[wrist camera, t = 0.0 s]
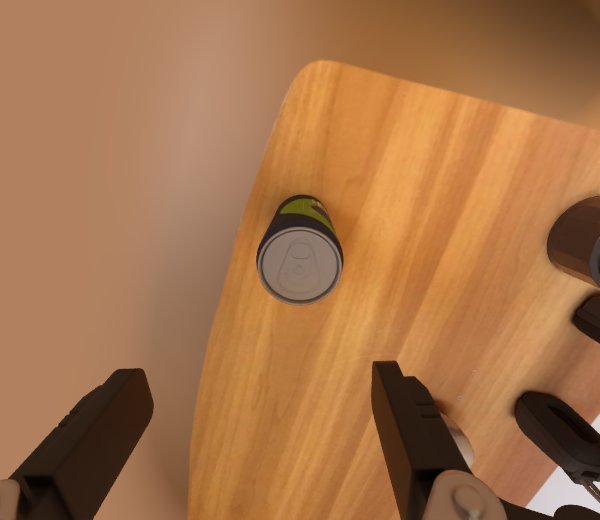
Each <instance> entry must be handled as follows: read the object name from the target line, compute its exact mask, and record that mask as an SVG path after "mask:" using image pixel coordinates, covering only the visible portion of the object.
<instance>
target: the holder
mask: <svg viewBox="0 0 600 520" xmlns="http://www.w3.org/2000/svg"><path fill="white" fill-rule="evenodd" d="M547 251H548V256H549V258H550V260H551V262H552V263H553V265H554V266H555V267H557V268H558V269H560V270H561V271H563V272H565V273H567V274H569V275H571V276H574V277H576V278H578V279H580V280H583V281H585V282H587V283H589V284H592V285H594V286H596V287H598V288H600V196H597V197H592V198H589V199H586V200H583V201H581V202H579V203H577V204H575V205H574V206H572V207H571V208H569V209H568V210H567V211H566V212H565V213H564V214H563V215H562V216H561V217H560V218H559V219H558V220H557V222H556V223H555V224H554V226H553V228H552V230H551V232H550V235H549V238H548V243H547Z"/></svg>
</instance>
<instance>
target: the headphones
mask: <svg viewBox="0 0 600 520" xmlns="http://www.w3.org/2000/svg"><path fill="white" fill-rule="evenodd" d="M576 314H577V316H576V317H575V318H574V325H575V326H576V327H577V329H579V330H580V331H581V332H583V333H584V334H586V335H587V336H589V337H591V338H592V339H594V340H595V341H597V342H598V343H600V296H597V297H593V298H591V299H590V300H589V301H587V302H586V304H585V305H584V306H583V308H579V309H578V311H577V313H576ZM515 418H516V421H517V424H518V426H519V428H520V429H521V430H522V432H523V433H524V434H525V435H526V436H527V437H528V438H529V439H530V440H531V441H532V442H533V443H534V444H535V445H536V446H538V447H539V448H540V449H541V450H542V451H543V452H544V453H545V454H546V455H547V456H548V457H549V458H551V459H552V460H553V461H554V462H555V463H556V464H558V465H559V466H560V467H561V468H562V469H563V470H564V472H565V473H566V474H567V475H568V476H569V477H570V479H571V480H572V481H573V482H574V483H575V484H580V485H583V486H584V487H585V488H586V489H587V491H589V493H590V494H591V495H592V496H593V497H594V498H595V499H596V500H597V501H598V502H599V503H600V497H599V496H600V491H599V489H598V488H597V487H596V486H595V485H594V484H593V481H597V482H600V434H599V433H598V432H597V431H596V430H595V429H594V428H593V427H592V426H591V425H589V424H588V423H587V422H586V421H585V420H584V419H583V418H582V417H581V416H580V415H579V414H578V413H577V412H575V411H574V410H573V409H572V408H571V407H570V406H569V405H568V404H566V403H565V402H563V401H562V400H560V399H558V398H555V397H550V396H546V395H542V394H536V393H527V394H525V395H524V396H523V398H522V399H520V400H519V401H518V407H517V409H516V413H515ZM589 486H591V488H593V490H594V491H595V492H596V493H597V494H598V495H599V496H598V495H597V494H596V493H595V492H594V491H593V490H592V489H591V488H590V487H589Z"/></svg>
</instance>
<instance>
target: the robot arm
mask: <svg viewBox="0 0 600 520" xmlns="http://www.w3.org/2000/svg"><path fill="white" fill-rule="evenodd" d="M371 402H372V410H373V415H374V419H375V423H376V427H377V431H378V434H379V438H380V442H381V446H382V449H383V453H384V457H385V461H386V465H387V468H388V472H389V476H390V480H391V483H392V487H393V491H394V495H395V499H396V502H397V506H398V510H399V514H400V517H401V520H600V514H599V513H597V512H595V511H593V510H591V509H588V508H586V507H582V506H578V505H564V506H561V507H560V508H558V509H557V510H556V512H555V513H554V516H553V517H552V516H548V515H545V514H542V513H538V512H536V511H532V510H529V509H526V508H523V507H520V506H516V505H514V504H511V503H509V502H507V501H504V500H502V499H501V498H499V497H497V496H496V494H495V493H494V492H493V491H492V490H491V489H490V488H489V487H488V486H487V485H486V484H485V483H484V482H483V481H481V480H480V479H478V478H477V477H475V476H474V475H473V473H472V472H471V470H470V469H469V467H468V465H467V463H466V461H465V459H464V457H463V455H462V454H461V452H460V450H459V448H458V446H457V444H456V442H455V440H454V438H453V436H452V435H451V433H450V431H449V429H448V427H447V425H446V423H445V421H444V419H443V418H442V417H441V414H440V412H439V410H438V408H437V406H436V405H435V402H434V400H433V398H432V397H431V395H430V393H429V391H428V389H427V388H426V387H425V386H424V385H423V384H422V383H421V382H420V381H419V380H418V379H417V378H416V377H415V376H408V377H404V376H403V374H402V372H401V370H400V367H399V365H398V363H397V362H396V361H374V362H373V365H372V389H371ZM153 408H154V404H153V399H152V396H151V392H150V388H149V386H148V382H147V378H146V375H145V373H144V370H143V369H141V368H137V369H136V368H135V369H118V370H116V371H115V372H114V373H113V374H112V375H111V376H110V377H109V378H108V379H107V380H106V382H105V383H104V384H103V385H100V386H98V387H97V388H95V389H94V390H93V391H91V392H90V393H88V394H87V395H86V396H84V397H83V398H82V399H81V400H80V401H79V402H78V403H77V404H76V406H75V407H74V408H73V409H72V410H71V411H70V414H69V415H66V416H65V418H64V419H63V420H62V421H61V422H60V423H59V425H58V427H56V428H54V429H53V431H52V432H51V433H50V434H49V435H48V436H47V437H46V438H45V439H44V440H43V441H42V443H41V444H40V445H39V446H38V447H37V448H36V449H35V450H34V451H33V452H32V454H31V455H30V456H29V457H28V458H27V459H26V460H25V461H24V462H23V463H22V464H21V465H20V466H19V468H18V469H17V470H16V471H15V472H14V473H13V474H12V475H11V476H10V477H9V478H8V479H5V480H0V520H93V518H94V516H95V515H96V513H97V511H98V510H99V508H100V506H101V504H102V503H103V501H104V499H105V497H106V496H107V494H108V492H109V491H110V489H111V487H112V486H113V484H114V482H115V480H116V479H117V477H118V475H119V474H120V472H121V470H122V468H123V467H124V465H125V463H126V461H127V460H128V458H129V456H130V455H131V453H132V451H133V450H134V448H135V446H136V444H137V443H138V441H139V439H140V438H141V436H142V434H143V432H144V431H145V429H146V427H147V426H148V424H149V422H150V420H151V418H152V414H153Z"/></svg>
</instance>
